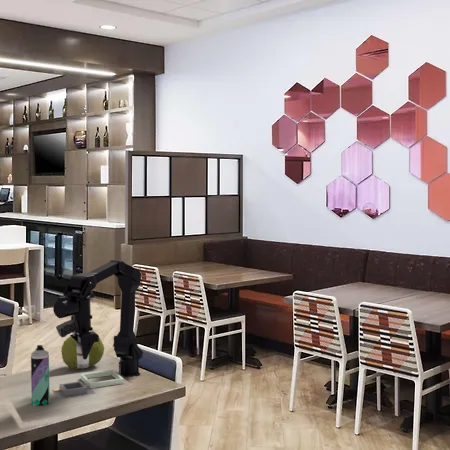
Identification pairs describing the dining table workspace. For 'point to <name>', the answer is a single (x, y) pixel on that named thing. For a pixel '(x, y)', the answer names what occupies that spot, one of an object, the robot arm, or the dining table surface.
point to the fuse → (81, 358)
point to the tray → (101, 383)
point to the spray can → (40, 376)
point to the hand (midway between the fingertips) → (83, 357)
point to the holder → (72, 390)
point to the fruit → (71, 353)
